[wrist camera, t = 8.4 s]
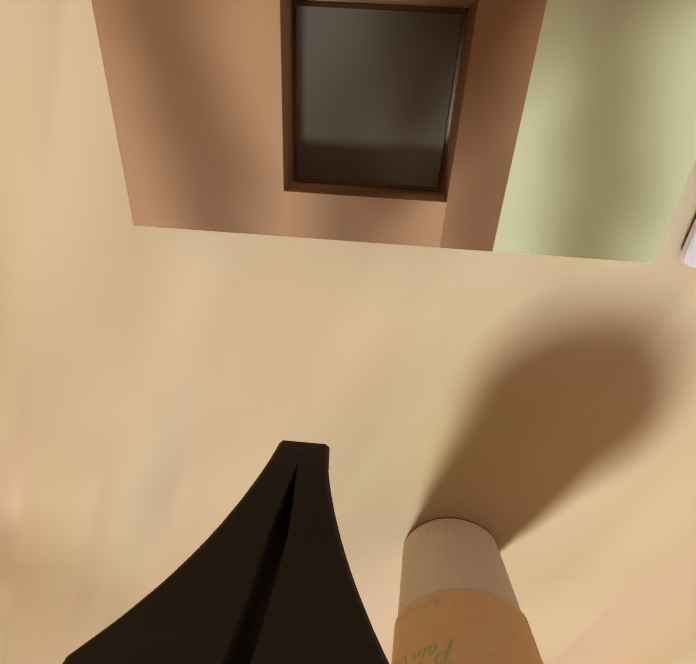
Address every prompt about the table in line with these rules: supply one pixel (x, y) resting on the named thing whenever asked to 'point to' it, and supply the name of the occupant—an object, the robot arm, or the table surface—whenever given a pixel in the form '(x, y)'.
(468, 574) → the coffee cup
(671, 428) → the table surface
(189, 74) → the trap board
